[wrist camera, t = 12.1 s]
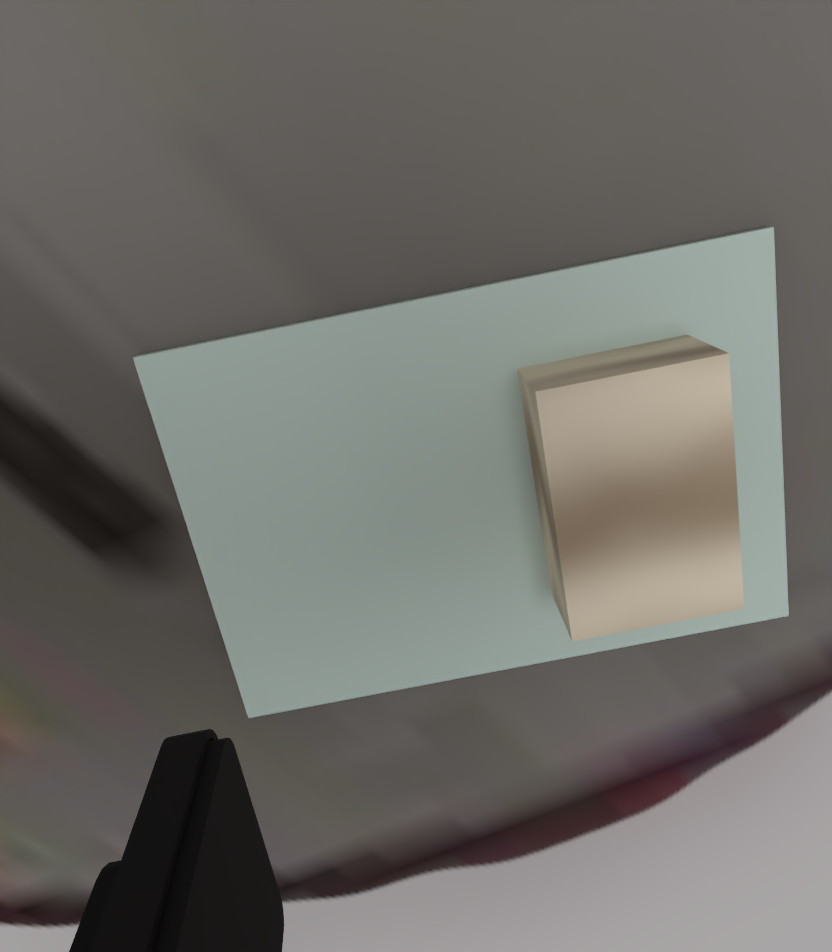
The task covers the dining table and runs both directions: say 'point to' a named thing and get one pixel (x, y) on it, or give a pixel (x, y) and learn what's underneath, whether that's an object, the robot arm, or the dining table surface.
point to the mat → (438, 469)
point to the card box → (636, 484)
